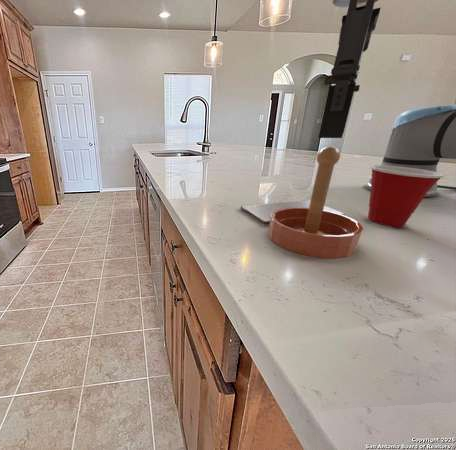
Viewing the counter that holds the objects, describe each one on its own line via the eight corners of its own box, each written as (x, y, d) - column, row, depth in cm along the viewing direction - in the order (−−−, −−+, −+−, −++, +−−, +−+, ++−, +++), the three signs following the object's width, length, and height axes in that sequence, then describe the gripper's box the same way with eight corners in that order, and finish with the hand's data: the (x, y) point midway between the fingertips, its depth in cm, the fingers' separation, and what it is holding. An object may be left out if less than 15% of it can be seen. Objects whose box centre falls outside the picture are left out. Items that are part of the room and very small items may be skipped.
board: (309, 204, 66) (310, 200, 66) (344, 218, 56) (345, 213, 56) (240, 210, 64) (240, 206, 63) (263, 226, 54) (264, 221, 53)
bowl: (313, 224, 54) (318, 205, 52) (377, 256, 41) (385, 231, 39) (254, 230, 52) (256, 210, 50) (300, 265, 39) (306, 240, 37)
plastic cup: (437, 235, 47) (465, 173, 42) (372, 232, 49) (392, 172, 44) (397, 215, 57) (417, 163, 52) (345, 213, 59) (359, 163, 54)
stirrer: (311, 232, 49) (331, 144, 42) (330, 243, 44) (356, 147, 38) (289, 234, 48) (306, 146, 42) (306, 246, 44) (329, 148, 37)
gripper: (340, 1, 42) (313, 131, 50) (334, -90, 24) (293, 140, 32) (399, -14, 38) (359, 131, 46) (447, -138, 19) (366, 141, 28)
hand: (332, 135), depth 39 cm, fingers open, 13 cm apart
